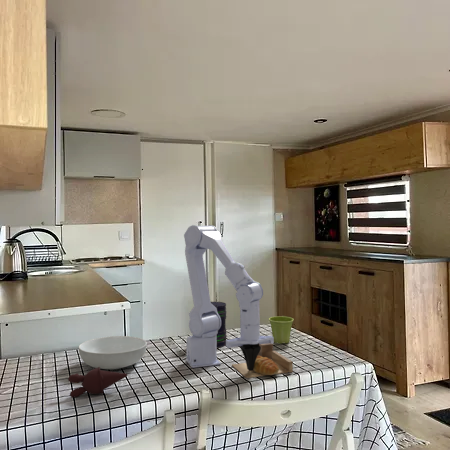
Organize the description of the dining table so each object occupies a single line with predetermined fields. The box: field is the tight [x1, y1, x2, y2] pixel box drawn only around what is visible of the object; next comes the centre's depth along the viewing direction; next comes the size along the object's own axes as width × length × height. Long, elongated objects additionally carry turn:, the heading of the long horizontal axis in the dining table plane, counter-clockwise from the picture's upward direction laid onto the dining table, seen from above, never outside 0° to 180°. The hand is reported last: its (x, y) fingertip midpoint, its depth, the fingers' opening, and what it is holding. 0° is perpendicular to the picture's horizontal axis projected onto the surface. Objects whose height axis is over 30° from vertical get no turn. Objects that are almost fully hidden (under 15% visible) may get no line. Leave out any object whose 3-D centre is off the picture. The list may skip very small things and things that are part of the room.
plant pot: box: [268, 315, 294, 345], centre depth 164 cm, size 9×9×9 cm
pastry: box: [253, 356, 279, 376], centre depth 130 cm, size 9×7×4 cm
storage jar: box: [202, 301, 227, 348], centre depth 161 cm, size 10×10×15 cm
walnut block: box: [257, 343, 274, 360], centre depth 144 cm, size 4×4×5 cm
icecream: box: [67, 367, 128, 398], centre depth 115 cm, size 7×7×15 cm
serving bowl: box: [78, 335, 148, 371], centre depth 138 cm, size 21×21×7 cm
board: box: [231, 350, 294, 379], centre depth 133 cm, size 15×12×3 cm
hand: (250, 369), depth 129 cm, fingers closed
